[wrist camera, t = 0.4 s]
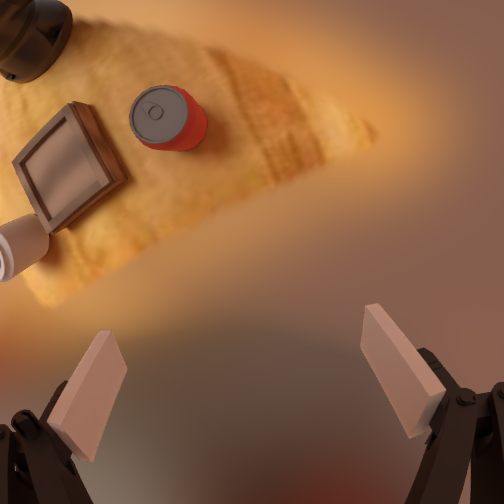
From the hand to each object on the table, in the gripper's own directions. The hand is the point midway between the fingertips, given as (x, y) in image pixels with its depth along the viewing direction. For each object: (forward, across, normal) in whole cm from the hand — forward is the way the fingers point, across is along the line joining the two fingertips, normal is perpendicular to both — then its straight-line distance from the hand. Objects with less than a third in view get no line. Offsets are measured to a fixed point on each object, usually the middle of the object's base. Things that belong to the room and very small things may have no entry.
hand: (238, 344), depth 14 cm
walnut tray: (+26, -22, +11) cm, 36 cm away
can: (+26, -33, +2) cm, 42 cm away
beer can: (+26, -6, +13) cm, 30 cm away
